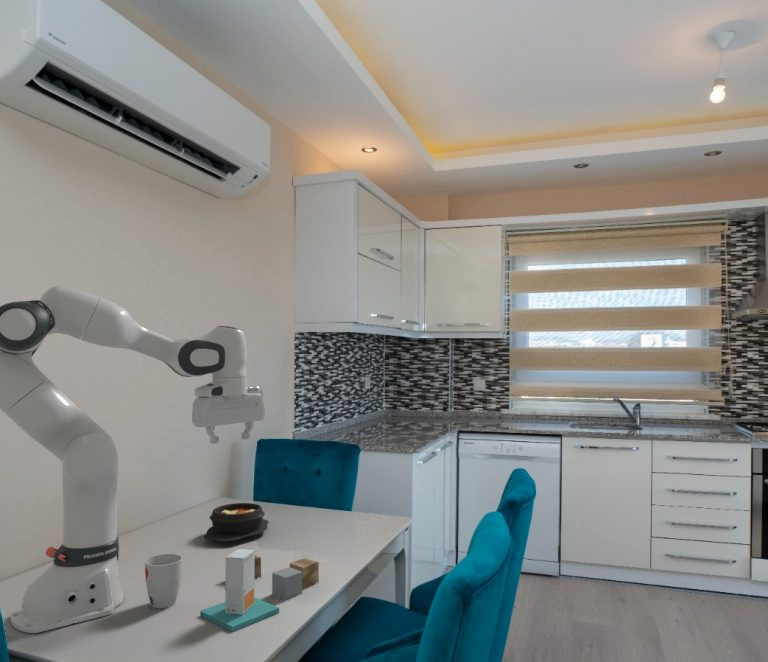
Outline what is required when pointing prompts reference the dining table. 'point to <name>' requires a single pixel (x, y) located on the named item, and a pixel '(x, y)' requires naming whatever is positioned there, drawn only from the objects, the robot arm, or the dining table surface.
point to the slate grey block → (287, 583)
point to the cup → (163, 579)
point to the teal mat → (239, 621)
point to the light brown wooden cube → (307, 571)
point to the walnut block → (257, 567)
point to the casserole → (236, 522)
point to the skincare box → (239, 581)
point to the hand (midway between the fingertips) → (230, 441)
